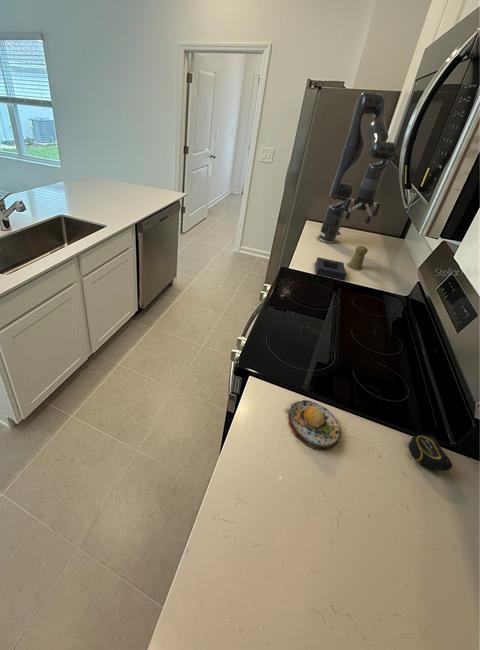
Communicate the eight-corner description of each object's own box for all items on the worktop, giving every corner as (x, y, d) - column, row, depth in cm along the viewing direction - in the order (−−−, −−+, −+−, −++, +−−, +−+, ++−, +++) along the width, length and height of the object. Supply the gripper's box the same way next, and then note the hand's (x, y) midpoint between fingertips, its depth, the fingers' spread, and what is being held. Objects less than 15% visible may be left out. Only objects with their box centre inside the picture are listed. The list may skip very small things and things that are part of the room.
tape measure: (448, 474, 67) (457, 465, 65) (417, 471, 67) (425, 461, 65) (428, 443, 73) (436, 434, 71) (400, 441, 73) (407, 431, 71)
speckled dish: (348, 448, 70) (360, 428, 66) (301, 453, 68) (310, 433, 64) (321, 402, 80) (330, 383, 77) (279, 406, 78) (286, 386, 74)
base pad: (315, 263, 152) (317, 257, 150) (341, 268, 149) (343, 262, 148) (316, 274, 142) (318, 267, 140) (343, 280, 139) (346, 273, 138)
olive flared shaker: (358, 264, 155) (366, 245, 150) (363, 270, 150) (371, 250, 145) (346, 263, 156) (354, 243, 150) (350, 268, 150) (358, 248, 145)
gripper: (383, 189, 143) (370, 222, 151) (351, 184, 147) (340, 216, 154) (387, 192, 137) (373, 226, 145) (353, 187, 140) (341, 220, 148)
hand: (356, 221), depth 149 cm, fingers open, 8 cm apart
